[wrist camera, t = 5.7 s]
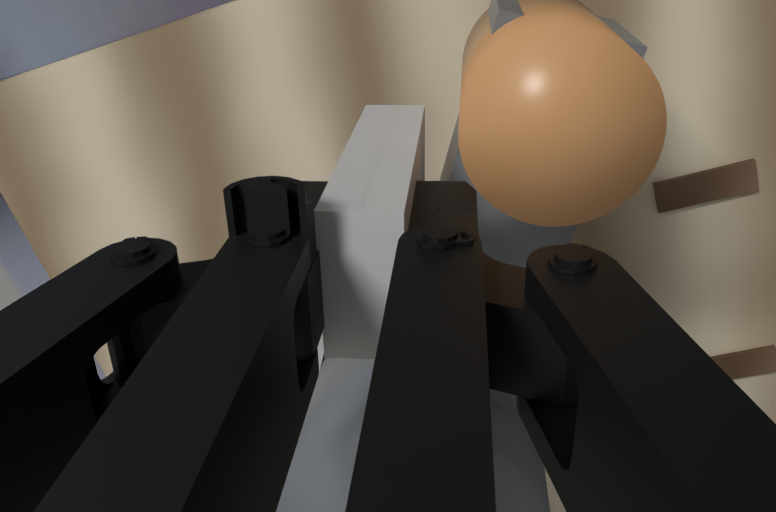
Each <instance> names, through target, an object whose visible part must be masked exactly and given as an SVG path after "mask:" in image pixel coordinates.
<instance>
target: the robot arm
mask: <svg viewBox="0 0 776 512" xmlns="http://www.w3.org/2000/svg"><path fill="white" fill-rule="evenodd" d="M223 195H224V203H225V211H226V218H227V226H228V234H229V237H228V239H227V240H226V242H225V243H224V245H223V246H222V247H221V249H220V250H219V252H218V253H217V254H216V256H215V257H214V259H208V260H202V261H194V262H186V263H179V258H178V252H177V247H176V246H175V245H174V244H173V243H172V242H171V241H167V240H164V239H160V238H148V237H146V236H140V237H137V238H136V239H135V237H131V238H126V239H124V240H123V241H120V242H117V243H113V244H110V245H108V246H106V247H104V248H102V249H100V250H98V251H96V252H95V253H93V254H91V255H90V256H88V257H87V258H85V259H83V260H82V261H80V262H78V263H77V264H75V265H74V266H72V267H70V268H69V269H67V270H65V271H64V272H62V273H61V274H59V275H57V276H56V277H54V278H52V279H51V280H49V281H48V282H46V283H44V284H43V285H41V286H39V287H38V288H36V289H35V290H33V291H31V292H30V293H28V294H27V295H25V296H23V297H22V298H20V299H18V300H17V301H15V302H14V303H12V304H10V305H9V306H7V307H5V308H4V309H2V310H1V311H0V512H276V510H277V507H278V504H279V500H280V497H281V494H282V491H283V488H284V484H285V481H286V478H287V475H288V472H289V468H290V465H291V462H292V459H293V456H294V452H295V449H296V446H297V443H298V440H299V436H300V433H301V430H302V427H303V424H304V420H305V417H306V414H307V411H308V408H309V404H310V401H311V398H312V395H313V392H314V388H315V385H316V382H317V379H318V376H319V360H318V344H319V341H320V338H321V335H322V332H323V346H324V357H326V358H352V359H375V361H374V366H373V372H372V377H371V382H370V387H369V392H368V397H367V402H366V407H365V413H364V418H363V423H362V428H361V433H360V438H359V443H358V448H357V454H356V459H355V464H354V469H353V474H352V479H351V484H350V489H349V494H348V500H347V505H346V510H345V512H496V500H495V481H494V462H493V443H492V425H491V406H490V389H492V390H496V391H500V392H504V393H508V394H512V395H516V396H517V399H516V404H517V410H518V414H519V416H520V418H521V420H522V422H523V424H524V426H525V428H526V430H527V432H528V434H529V436H530V438H531V440H532V442H533V444H534V446H535V448H536V451H537V453H538V455H539V457H540V459H541V461H542V463H543V465H544V467H545V469H546V471H547V473H548V475H549V477H550V479H551V481H552V483H553V485H554V487H555V489H556V491H557V494H558V496H559V498H560V500H561V502H562V504H563V506H564V508H565V510H566V512H776V424H775V423H774V422H773V421H772V420H771V419H770V418H769V417H768V416H767V415H766V414H765V413H764V412H763V411H762V410H761V409H760V408H759V406H758V405H757V404H756V403H755V402H754V401H753V400H752V399H751V398H750V397H749V396H748V395H747V394H746V393H745V392H744V391H743V390H742V389H741V388H740V387H739V386H738V385H737V384H736V383H735V382H734V381H733V380H732V379H731V378H730V377H729V376H728V375H727V374H726V373H725V372H724V371H723V370H722V369H721V368H720V367H719V366H718V365H717V363H716V362H715V361H714V360H713V359H712V358H711V357H710V356H709V355H708V354H707V353H706V352H705V351H704V350H703V349H702V348H701V347H700V346H699V345H698V344H697V343H696V342H695V341H694V340H693V339H692V338H691V337H690V336H689V335H688V334H687V333H686V332H685V331H684V330H683V329H682V328H681V327H680V326H679V325H678V324H677V323H676V322H675V320H674V319H673V318H672V317H671V316H670V315H669V314H668V313H667V312H666V311H665V310H664V309H663V308H662V307H661V306H660V305H659V304H658V303H657V302H656V301H655V300H654V299H653V298H652V297H651V296H650V295H649V294H648V293H647V292H646V291H645V290H644V289H643V288H642V287H641V286H640V285H639V284H638V283H637V282H636V281H635V280H634V279H633V277H632V276H631V275H630V274H629V273H628V272H627V271H626V270H625V269H624V268H623V267H622V266H621V265H620V264H619V263H618V262H617V261H616V260H615V259H613V258H612V257H610V256H609V255H607V254H606V253H604V252H601V251H599V250H596V249H593V248H591V247H590V246H586V245H582V244H580V246H578V244H574V243H568V244H566V245H551V246H546V247H541V248H539V249H537V250H535V251H533V252H531V254H530V255H529V257H528V258H527V262H526V268H525V267H519V266H514V265H510V264H506V263H503V262H500V261H498V260H495V259H493V258H491V257H489V256H488V255H486V254H485V253H484V252H483V251H482V241H481V239H480V237H479V235H478V214H477V191H476V190H475V189H474V188H473V187H472V186H470V185H469V184H468V183H467V182H466V181H425V105H366V106H365V108H364V110H363V112H362V114H361V116H360V118H359V120H358V122H357V124H356V126H355V128H354V130H353V132H352V134H351V136H350V138H349V141H348V143H347V145H346V147H345V149H344V151H343V153H342V155H341V157H340V159H339V161H338V163H337V165H336V167H335V169H334V171H333V173H332V175H331V177H330V179H329V181H300V180H297V179H294V178H290V177H283V176H258V177H253V178H247V179H242V180H240V181H237V182H234V183H231V184H229V185H228V186H227V187H225V188H224V189H223ZM106 343H107V346H108V350H109V354H110V359H111V363H112V367H113V372H112V373H111V374H109V375H108V376H107V377H106V378H104V379H102V380H100V378H99V376H98V374H97V370H96V365H95V361H94V357H93V356H94V355H95V353H96V352H97V351H98V350H99V349H100V348H101V347H102V346H103V345H105V344H106Z"/></svg>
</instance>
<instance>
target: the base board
mask: <svg viewBox="0 0 776 512" xmlns="http://www.w3.org/2000/svg"><path fill="white" fill-rule="evenodd" d="M579 1H581V2H582V3H583V4H585V5H586V6H587V7H588V8H589V9H590V10H591V11H592V12H593V13H594V14H595V15H596V16H600V17H604V18H607V19H611V20H615V21H617V22H618V23H619V24H620V25H621V26H623V27H624V28H625V29H626V30H627V31H629V32H630V33H631V34H632V35H633V36H635V37H636V38H637V39H638V40H639V41H641V42H642V43H643V44H644V45H645V46H647V47H648V48H647V50H646V53H645V55H644V58H643V59H644V60H645V61H646V63H647V64H648V65H649V67H650V68H651V69H652V71H653V72H654V74H655V76H656V78H657V80H658V81H659V84H660V87H661V89H662V92H663V95H664V100H665V104H666V113H667V127H666V136H665V141H664V145H663V149H662V151H661V154H660V157H659V160H658V162H657V164H656V165H655V167H654V169H653V171H652V173H651V174H650V176H649V177H648V179H647V180H646V182H645V183H644V184H643V185H642V186H641V188H640V189H639V190H638V191H637V192H636V193H635V194H634V195H633V196H632V197H631V198H629V199H628V200H627V201H626V202H625V203H623V204H622V205H621V206H619V207H618V208H616V209H615V210H613V211H611V212H609V213H607V214H606V215H604V216H601V217H599V218H597V219H594V220H592V221H588V222H585V223H581V224H578V225H577V228H576V230H575V233H574V235H573V238H572V240H571V243H574V244H578V246H580V244H582V245H586V246H590V247H591V248H593V249H596V250H599V251H601V252H604V253H606V254H607V255H609V256H610V257H612V258H613V259H615V260H616V261H617V262H618V263H619V264H620V265H621V266H622V267H623V268H624V269H625V270H626V271H627V272H628V273H629V274H630V275H631V276H632V277H633V279H634V280H635V281H636V282H637V283H638V284H639V285H640V286H641V287H642V288H643V289H644V290H645V291H646V292H647V293H648V294H649V295H650V296H651V297H652V298H653V299H654V300H655V301H656V302H657V303H658V304H659V305H660V306H661V307H662V308H663V309H664V310H665V311H666V312H667V313H668V314H669V315H670V316H671V317H672V318H673V319H674V320H675V322H676V323H677V324H678V325H679V326H680V327H681V328H682V329H683V330H684V331H685V332H686V333H687V334H688V335H689V336H690V337H691V338H692V339H693V340H694V341H695V342H696V343H697V344H698V345H699V346H700V347H701V348H702V349H703V350H704V351H705V352H706V353H707V354H708V355H709V356H710V357H711V358H712V359H713V360H714V361H715V362H716V363H717V365H718V366H719V367H720V368H721V369H722V370H723V371H724V372H725V373H726V374H727V375H728V376H729V377H730V378H731V379H732V380H733V381H734V382H735V383H736V384H737V385H738V386H739V387H740V388H741V389H742V390H743V391H744V392H745V393H746V394H747V395H748V396H749V397H750V398H751V399H752V400H753V401H754V402H755V403H756V404H757V405H758V406H759V408H760V409H761V410H762V411H763V412H764V413H765V414H766V415H767V416H768V417H769V418H770V419H771V420H772V421H773V422H774V423H775V424H776V0H579ZM490 2H491V0H234V1H231V2H229V3H226V4H223V5H220V6H217V7H214V8H211V9H208V10H205V11H202V12H199V13H197V14H194V15H191V16H188V17H185V18H182V19H179V20H176V21H173V22H170V23H167V24H165V25H162V26H159V27H156V28H153V29H150V30H147V31H144V32H141V33H138V34H136V35H133V36H130V37H127V38H124V39H121V40H118V41H115V42H112V43H109V44H106V45H104V46H101V47H98V48H95V49H92V50H89V51H86V52H83V53H80V54H77V55H74V56H72V57H69V58H66V59H63V60H60V61H57V62H54V63H51V64H48V65H45V66H42V67H40V68H37V69H34V70H31V71H28V72H25V73H22V74H19V75H16V76H13V77H10V78H8V79H5V80H2V81H0V192H1V194H2V196H3V197H4V199H5V201H6V203H7V204H8V206H9V208H10V210H11V211H12V213H13V215H14V217H15V218H16V220H17V222H18V224H19V225H20V227H21V229H22V230H23V232H24V234H25V236H26V237H27V239H28V241H29V243H30V244H31V246H32V248H33V250H34V251H35V253H36V255H37V257H38V258H39V260H40V262H41V264H42V265H43V267H44V269H45V270H46V272H47V274H48V276H49V277H50V279H52V278H54V277H56V276H57V275H59V274H61V273H62V272H64V271H65V270H67V269H69V268H70V267H72V266H74V265H75V264H77V263H78V262H80V261H82V260H83V259H85V258H87V257H88V256H90V255H91V254H93V253H95V252H96V251H98V250H100V249H102V248H104V247H106V246H108V245H110V244H113V243H117V242H120V241H123V240H124V239H126V238H131V237H135V239H136V238H137V237H140V236H146V237H148V238H160V239H164V240H167V241H171V242H172V243H173V244H174V245H175V246H176V247H177V252H178V258H179V263H186V262H194V261H202V260H208V259H214V257H215V256H216V254H217V253H218V252H219V250H220V249H221V247H222V246H223V245H224V243H225V242H226V240H227V239H228V237H229V234H228V226H227V218H226V211H225V203H224V195H223V189H224V188H225V187H227V186H228V185H229V184H231V183H234V182H237V181H240V180H242V179H247V178H253V177H258V176H283V177H290V178H294V179H297V180H300V181H329V179H330V177H331V175H332V173H333V171H334V169H335V167H336V165H337V163H338V161H339V159H340V157H341V155H342V153H343V151H344V149H345V147H346V145H347V143H348V141H349V138H350V136H351V134H352V132H353V130H354V128H355V126H356V124H357V122H358V120H359V118H360V116H361V114H362V112H363V110H364V108H365V106H366V105H425V181H439V180H440V177H441V173H442V170H443V166H444V163H445V159H446V156H447V152H448V149H449V145H450V142H451V138H452V135H453V131H454V128H455V124H456V121H457V117H458V114H459V110H460V92H461V75H462V59H463V52H464V48H465V44H466V41H467V38H468V36H469V34H470V32H471V30H472V28H473V26H474V25H475V23H476V22H477V20H478V19H479V18H480V17H481V16H482V14H483V13H484V12H485V11H486V10H487V9H489V5H490ZM94 356H95V357H96V359H97V361H98V363H99V364H100V366H101V368H102V370H103V371H104V373H105V375H106V377H107V376H108V375H109V374H111V373H112V372H113V367H112V363H111V359H110V354H109V350H108V346H107V343H106V344H105V345H103V346H102V347H101V348H100V349H99V350H98V351H97V352H96V353H95V355H94ZM545 475H546V483H547V490H548V498H549V506H550V512H566V510H565V508H564V506H563V504H562V502H561V500H560V498H559V496H558V494H557V491H556V489H555V487H554V485H553V483H552V481H551V479H550V477H549V475H548V473H547V471H546V469H545ZM276 511H277V510H276Z"/></svg>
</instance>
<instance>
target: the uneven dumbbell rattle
mask: <svg viewBox="0 0 776 512" xmlns="http://www.w3.org/2000/svg"><path fill="white" fill-rule="evenodd" d="M647 48H648V47H647V46H645V45H644V44H643V43H642V42H641V41H639V40H638V39H637V38H636V37H635V36H633V35H632V34H631V33H630V32H629V31H627V30H626V29H625V28H624V27H623V26H621V25H620V24H619V23H618V22H617V21H615V20H611V19H607V18H604V17H600V16H596V15H595V14H594V13H593V12H592V11H591V10H590V9H589V8H588V7H587V6H586V5H585V4H583V3H582V2H581V1H579V0H491V2H490V5H489V9H487V10H486V11H485V12H484V13H483V14H482V16H481V17H480V18H479V19H478V20H477V22H476V23H475V25H474V26H473V28H472V30H471V32H470V34H469V36H468V38H467V41H466V44H465V48H464V52H463V59H462V75H461V92H460V110H459V114H458V117H457V121H456V124H455V128H454V131H453V135H452V138H451V142H450V145H449V149H448V152H447V156H446V159H445V163H444V166H443V170H442V173H441V177H440V180H439V181H466V182H467V183H468V184H469V185H470V186H472V187H473V188H474V189H475V190H476V191H477V214H478V235H479V237H480V239H481V241H482V251H483V252H484V253H485V254H486V255H488V256H489V257H491V258H493V259H495V260H498V261H500V262H503V263H506V264H510V265H514V266H519V267H525V268H526V262H527V258H528V257H529V255H530V254H531V252H533V251H535V250H537V249H539V248H541V247H546V246H551V245H566V244H568V243H571V240H572V238H573V235H574V233H575V230H576V228H577V225H578V224H581V223H585V222H588V221H592V220H594V219H597V218H599V217H601V216H604V215H606V214H607V213H609V212H611V211H613V210H615V209H616V208H618V207H619V206H621V205H622V204H623V203H625V202H626V201H627V200H628V199H629V198H631V197H632V196H633V195H634V194H635V193H636V192H637V191H638V190H639V189H640V188H641V186H642V185H643V184H644V183H645V182H646V180H647V179H648V177H649V176H650V174H651V173H652V171H653V169H654V167H655V165H656V164H657V162H658V160H659V157H660V154H661V151H662V149H663V145H664V141H665V136H666V127H667V113H666V104H665V100H664V95H663V92H662V89H661V87H660V84H659V81H658V80H657V78H656V76H655V74H654V72H653V71H652V69H651V68H650V67H649V65H648V64H647V63H646V61H645V60H644V59H643V58H644V55H645V53H646V50H647ZM318 360H319V376H318V379H317V382H316V385H315V388H314V392H313V395H312V398H311V401H310V404H309V408H308V411H307V414H306V417H305V420H304V424H303V427H302V430H301V433H300V436H299V440H298V443H297V446H296V449H295V452H294V456H293V459H292V462H291V465H290V468H289V472H288V475H287V478H286V481H285V484H284V488H283V491H282V494H281V497H280V500H279V504H278V507H277V511H276V512H345V510H346V505H347V500H348V494H349V489H350V484H351V479H352V474H353V469H354V464H355V459H356V454H357V448H358V443H359V438H360V433H361V428H362V423H363V418H364V413H365V407H366V402H367V397H368V392H369V387H370V382H371V377H372V372H373V366H374V361H375V359H352V358H326V357H324V346H323V332H322V335H321V338H320V341H319V344H318ZM516 399H517V396H516V395H512V394H508V393H504V392H500V391H496V390H492V389H490V406H491V425H492V443H493V462H494V481H495V500H496V512H550V506H549V498H548V490H547V483H546V475H545V467H544V465H543V463H542V461H541V459H540V457H539V455H538V453H537V451H536V448H535V446H534V444H533V442H532V440H531V438H530V436H529V434H528V432H527V430H526V428H525V426H524V424H523V422H522V420H521V418H520V416H519V414H518V410H517V404H516Z"/></svg>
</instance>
